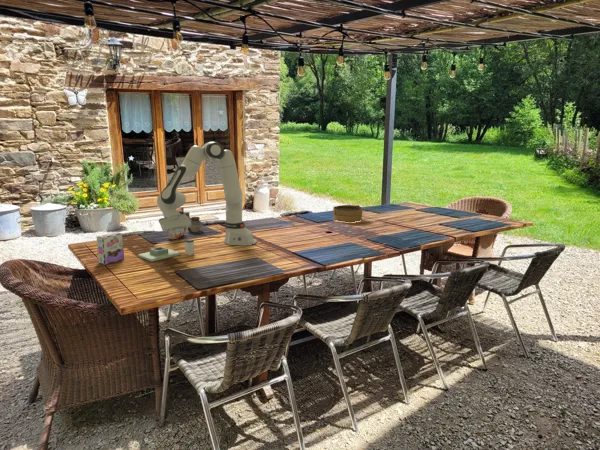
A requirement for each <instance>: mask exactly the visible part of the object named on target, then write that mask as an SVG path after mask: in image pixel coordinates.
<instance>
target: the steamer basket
mask: <svg viewBox="0 0 600 450" xmlns="http://www.w3.org/2000/svg"><path fill="white" fill-rule="evenodd" d="M332 213H333V219H335V220H338V221H345V222H355V221H360V220H362V216H363V207H362V206H357V205H347V204H346V205H336V206H333V210H332ZM362 221H363V220H362Z"/></svg>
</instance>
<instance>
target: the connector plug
mask: <svg viewBox="0 0 600 450" xmlns="http://www.w3.org/2000/svg"><path fill="white" fill-rule="evenodd" d="M184 254H185V255H187V256H192V255H195V241H194V239H190V238H188V239H184Z"/></svg>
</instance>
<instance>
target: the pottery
mask: <svg viewBox="0 0 600 450" xmlns="http://www.w3.org/2000/svg"><path fill="white" fill-rule="evenodd" d="M184 212H185V215H186V216H187V217H188V218H189V219H190V221H191V225H190V227H188V229H190V230H191V232H192V233H198V232H200V230H201V229H202V227H203V226H204V222H203V221H201V220H200V217H199V216H190V212H189V211H188V212H187V211H184Z"/></svg>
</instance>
